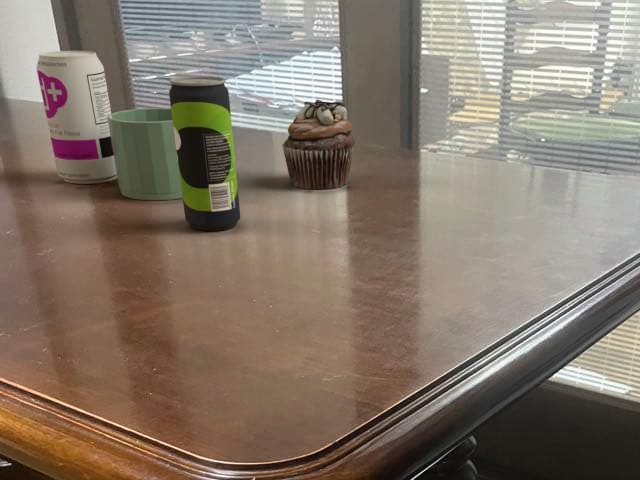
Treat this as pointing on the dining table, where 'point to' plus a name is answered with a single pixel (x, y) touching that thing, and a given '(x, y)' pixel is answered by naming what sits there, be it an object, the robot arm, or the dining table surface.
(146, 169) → the green faceted cup
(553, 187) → the dining table surface
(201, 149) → the beverage can
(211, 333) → the dining table surface
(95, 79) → the supplement can
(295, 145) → the cupcake
